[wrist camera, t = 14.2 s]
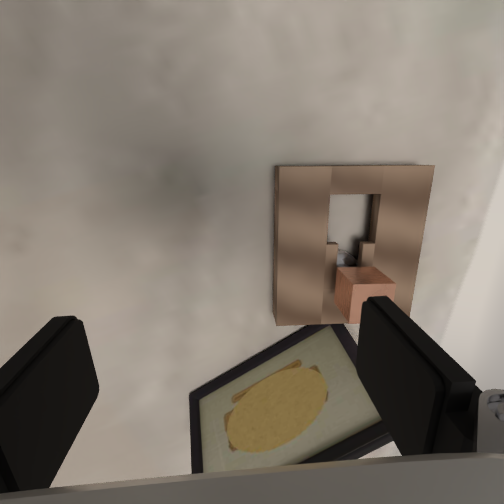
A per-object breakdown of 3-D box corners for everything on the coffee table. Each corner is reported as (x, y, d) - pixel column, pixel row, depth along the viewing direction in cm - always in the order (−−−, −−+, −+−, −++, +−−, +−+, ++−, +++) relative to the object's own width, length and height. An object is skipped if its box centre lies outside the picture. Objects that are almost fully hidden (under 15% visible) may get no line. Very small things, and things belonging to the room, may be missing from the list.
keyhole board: (275, 166, 33) (279, 166, 30) (415, 164, 34) (434, 165, 31) (272, 311, 39) (276, 325, 35) (393, 307, 39) (408, 321, 36)
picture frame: (333, 308, 39) (398, 408, 25) (360, 352, 42) (430, 460, 29) (188, 392, 42) (175, 524, 28) (224, 427, 45) (229, 559, 31)
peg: (320, 250, 37) (351, 282, 27) (356, 249, 37) (398, 281, 27) (318, 283, 38) (346, 325, 28) (352, 282, 38) (392, 324, 29)
